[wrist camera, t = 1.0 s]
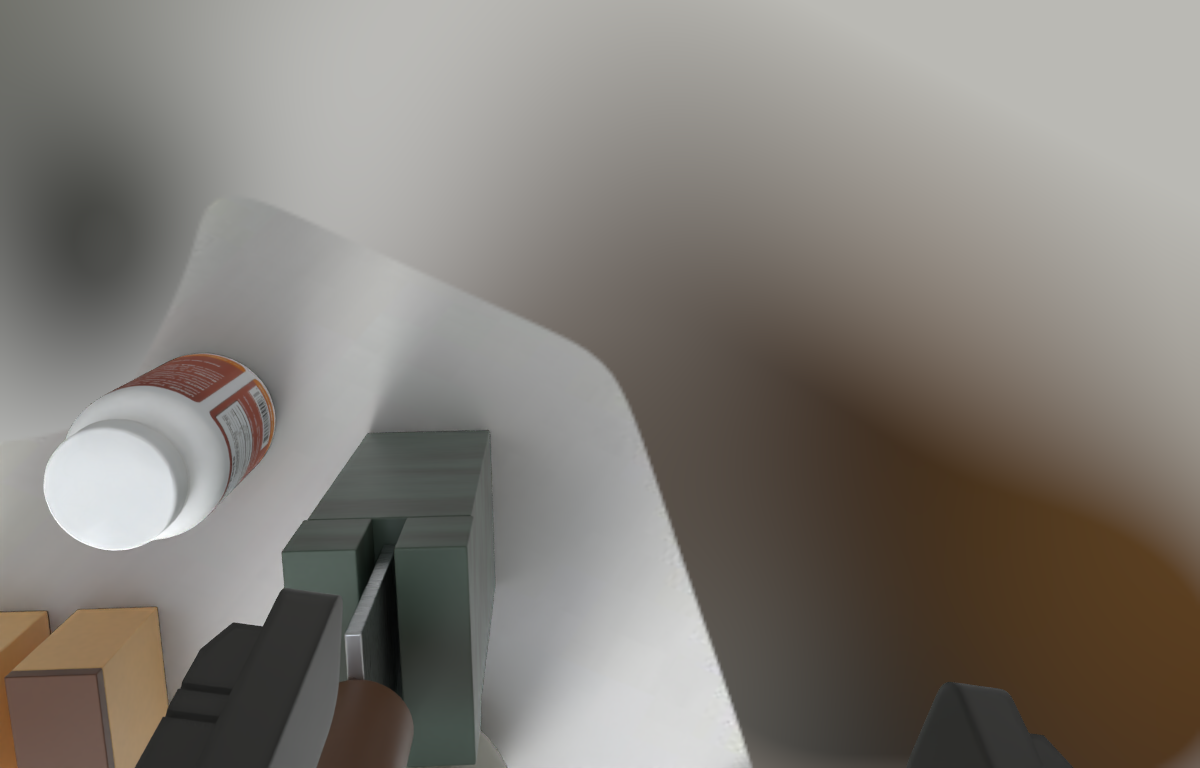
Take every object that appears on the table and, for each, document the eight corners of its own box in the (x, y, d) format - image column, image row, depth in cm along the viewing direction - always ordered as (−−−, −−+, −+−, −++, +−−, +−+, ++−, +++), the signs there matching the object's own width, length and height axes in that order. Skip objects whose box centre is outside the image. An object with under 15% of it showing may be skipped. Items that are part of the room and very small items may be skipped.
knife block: (365, 432, 46) (280, 551, 31) (492, 429, 46) (467, 546, 32) (374, 590, 48) (299, 772, 33) (497, 586, 48) (476, 765, 33)
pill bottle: (116, 417, 45) (-19, 492, 34) (203, 322, 45) (92, 370, 34) (221, 504, 46) (122, 604, 36) (307, 413, 46) (232, 487, 35)
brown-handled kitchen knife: (345, 545, 35) (198, 814, 20) (435, 542, 35) (356, 808, 20) (355, 698, 36) (224, 1058, 21) (443, 695, 36) (372, 1049, 21)
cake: (-34, 612, 47) (-126, 681, 40) (157, 606, 47) (96, 674, 41) (-8, 779, 49) (-92, 871, 42) (176, 772, 49) (120, 861, 43)
